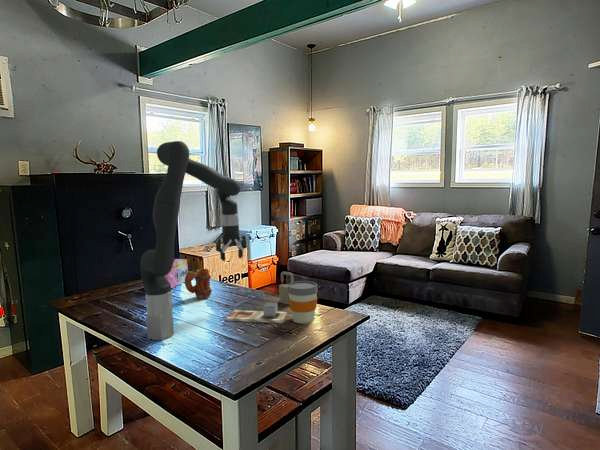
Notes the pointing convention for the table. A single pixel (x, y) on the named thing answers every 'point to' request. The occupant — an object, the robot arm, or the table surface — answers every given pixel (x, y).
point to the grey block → (270, 310)
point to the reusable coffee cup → (302, 300)
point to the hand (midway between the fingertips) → (232, 259)
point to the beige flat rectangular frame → (254, 316)
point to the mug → (199, 283)
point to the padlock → (284, 288)
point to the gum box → (177, 272)
